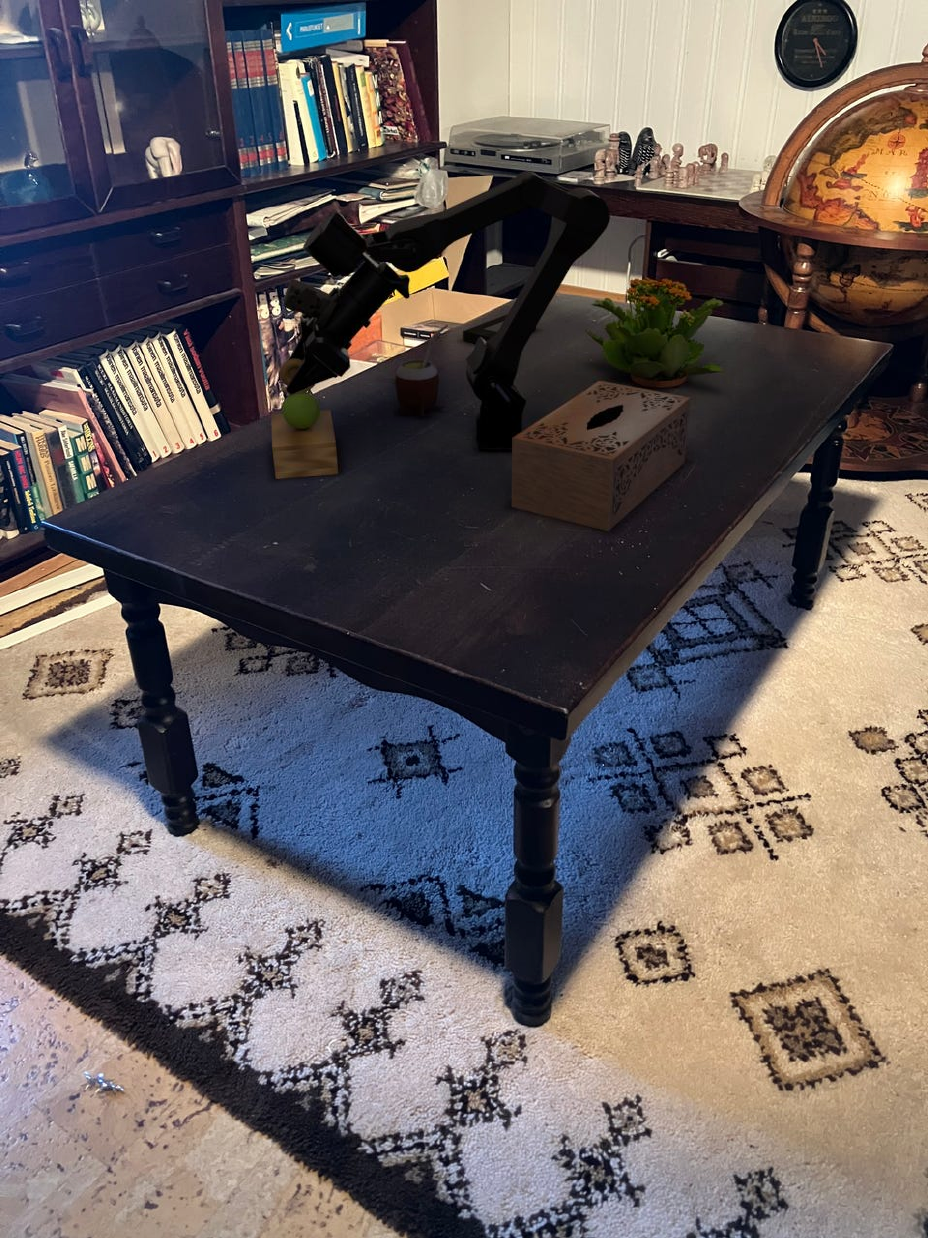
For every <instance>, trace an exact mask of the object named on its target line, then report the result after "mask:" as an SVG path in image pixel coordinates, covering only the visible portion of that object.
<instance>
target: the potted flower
mask: <svg viewBox="0 0 928 1238" xmlns="http://www.w3.org/2000/svg"><path fill="white" fill-rule="evenodd" d="M626 293H627V295H626V297H625V299H626V301H627V302H629V308H626V310H625V311H624V309H623V308H622V307H621V306H616V305H615V304H614V302H613V300H612V299H611V298H610V297H605V298H604V300H599V299H594V303H591V304H590V306H593V307H598V308H600V309H603V310H606V311H608V312H610V313H611V314H613V315H614V316H615V317H617V318H618V319H617V321H615V320H613V321H611V322H608V323H606V325H605V328H604V330H605V332H606V333H607V334H608V336H609V339H605V338H603V336H598V335H597V334H596V333H593V332H592V331H591V330H588V329H587V328H585V327H584V331H585V332H586V334H587V335H588V336H589V337H590V338H592V340H594V341H595V342H596V343H598V344H599V345H600V346H601V347H602V351H603V355H604V358H605V359H606V360H607V362H608V364H610V366H612V367H613V368H615V369H617V370H619V371H622V372H625V373H627V374H630V376H631V379H632V382H634V383H636V384H637V385H639V386H642V387H646V388H656V389H657V388H658V389H668V388H676V387H678V386H681V385H682V384H683V383H685V382H686V380H687V377H688V375H689V376H700V375H707V374H708V375H710V374H714V373H720V372H721V373H722V372H724V370H723V366H721V365H719V364H718V365H716V364H713V362H710V363H708V364H705V365H704V366H700V365H699V364H697V363H696V362H697V361H698V360H699V359H700V356H702V354H703V352H704V348H705V344H703V343H701V342H698V341H697V340H696V337H693V336H695V334H696V332H697V331H698V330H699V329H700V328H702V327H703V325H704V324H705V322H706V320H707V319H708V318H709V317H710V316H711V315H712V313H713V309H714V308H718V307H722V306H723V304H724V302H723V301H722V300H721V299H717V298H715V297H713V298H711V299H709V300H706V301H705V302H704V303H702V304H701V306H700V307H698V308H697V309H696V310H695V309H694V308H691V309H690V310H689V311H688V312H687V310H686V309H683V312H682V313H680V315H678V319H679V320H678V322H677V324H675V326H673V325H674V319H675V315H676V311H677V309H678V308H679V307H682V306H683V305H684V304H685V302H686V301H691V300H692V296H691V292H689V291H688V290H687V287H686V285H685V284H684V283H681V282H679V281H672V279H668V278H663V279H662V281H660V282H659V281H658V280H656V279H651V278H649V277H647V276H645V278H644V279H639V278H637V277H636V278H634V279H633V278H631V279H630V280H629V287H628V289H626ZM645 293H646V294H645ZM671 301H672V304H671ZM632 303H633V305H634V306H635V307H633V306H632ZM633 310H634V311H635V314H634V315H633ZM692 338H693V339H692ZM694 363H695V364H694ZM693 364H694V365H693ZM686 365H687V366H686ZM688 365H691V366H688ZM685 366H686V367H685Z"/></svg>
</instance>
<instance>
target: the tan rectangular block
mask: <svg viewBox="0 0 928 1238" xmlns="http://www.w3.org/2000/svg"><path fill="white" fill-rule="evenodd" d="M331 412H332V411H331V410H330V409H328V410H320V414H319V417H318V420H317V421H316V422H315V424H314V425H312V426H311V427H309V428H306V429H297V428H294V427H292V426H291V425H289V424H288V423H287V422H286V420H285V419H284V416H283V413H275V414H274V413H272V414H270V422H271V426H270V427H271V448H272V449H271V450H272V458H273V466H274V467H273V468H274V473H275V474H274V475H275V479H276V480H277V479H278V480H281V479H282V480H283V479H293V478H295V479H296V478H305V477H318V476H319V477H320V476H333V475H338V474H339V466H338V455H337V453H338V452H337V442H336V436H335V435H336V434H335V430H334V429H335V428H334V423H333V418H332V417H333V416H332V413H331Z"/></svg>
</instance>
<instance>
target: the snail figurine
mask: <svg viewBox="0 0 928 1238" xmlns="http://www.w3.org/2000/svg"><path fill="white" fill-rule="evenodd" d="M302 361H303V360H301V359H290V360H289V359H287V360H286V361H284V362H283V363H282V365H281V367H280V369H279V378H280V381H281V382H282V384H284V385H285V386H281V388H280V389H281V390H282V391H283V392H285V393H286V394H288V396H286V398H285V399H284V401H283V403H282V407H281V412H282V413H281V414H283V416H284V419H285V420H286V422H287V423H288V424H289V425H291V426H292V427H294V428H297V429H306V428H309V427H311V426H312V425H314V424H315V422H316V421H317V420H318V417H319V414H320V411H321V410H320V409H321V408H320V405H319V404H320V403H319V402H318V400H317V398H316V397H315V396H314V395H312V394H311V393H310V392H309V391H310V390H312V389H313V388H314V387H315V386H316V384H315V385H313V386H310V387H308V388H306V389H303V390H301V391H299V392H296V393H294V394H290V393H289V392H287V391H286V387H287V386H288V384H289V382H290V381H291V379H292V377H293V376H294V374H295V372H296V371H297V369H298V368H299V366H300V364H301V363H302Z"/></svg>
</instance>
